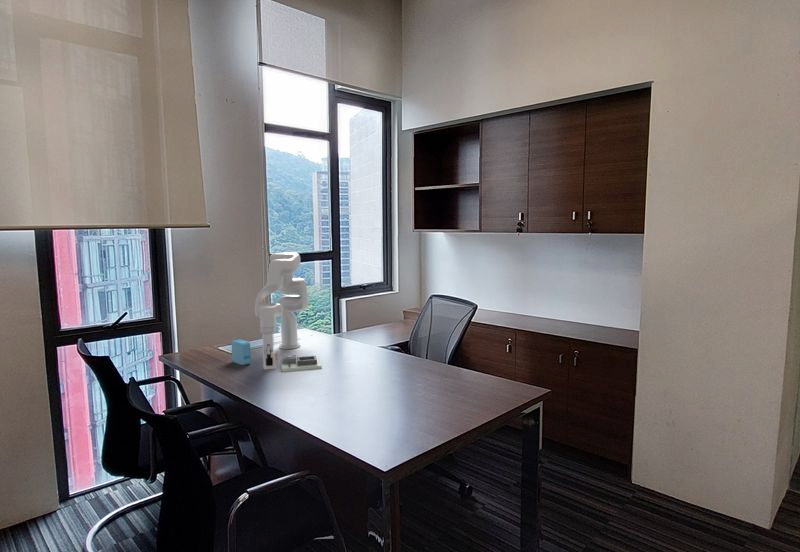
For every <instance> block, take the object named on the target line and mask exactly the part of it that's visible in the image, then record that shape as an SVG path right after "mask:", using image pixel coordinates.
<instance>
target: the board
mask: <svg viewBox="0 0 800 552" xmlns="http://www.w3.org/2000/svg"><path fill="white" fill-rule="evenodd" d="M281 357H282V358H281V359H282V360H281V372H282V373H283V372H294V371H295V370H297V371H307V370H308V369H309V370H319V369H322V367H323V366H322V363H321V359H320V357H317V356H316V355H308V356H307V355H306V356H298V357H297V355H296V354H293V355H283V356H281Z"/></svg>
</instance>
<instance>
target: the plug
mask: <svg viewBox="0 0 800 552" xmlns="http://www.w3.org/2000/svg"><path fill="white" fill-rule="evenodd" d="M270 354H271V353H270ZM272 359H273V365H272V366H266V352H265V353H263V352H262V361H263V362H262V363H263V365H262V366H263V370H274V369H275V368H277V365H276V363H277V362H276V361H278V351H273V352H272Z"/></svg>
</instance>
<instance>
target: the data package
mask: <svg viewBox="0 0 800 552" xmlns="http://www.w3.org/2000/svg"><path fill="white" fill-rule="evenodd" d="M230 345H231V359H232V362H233V363H235V364H237V365H241V366H245V365H249V364H251V362H252V358H251V357H252V356H251V353H252V352H251V343H250V342H249V341H248V340H244V339H239V338H238V339H235V340H232V341H231V344H230Z"/></svg>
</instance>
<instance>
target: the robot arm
mask: <svg viewBox="0 0 800 552" xmlns="http://www.w3.org/2000/svg"><path fill="white" fill-rule="evenodd" d="M301 260H302V259H301V255H300V254H299V253H298V252H275V253H271V254H270V255H269V264H268V269H267V279H266V284H265V285H264V286H263V288H262V289H261V290H260V291H259V292H258V293H257V296H256V298H255V303H254V304H255V305H254V314H255V316H256V317H257V318H259V322H260V323H259V324H260V325H259V326H260V334H262V354H263V353H265V352H266V366H272V365H273V359H272V352H274V345H275V343H274V342H275V341H274V339H275V338H274V334H275V333H276V332H277V331H276V318H279V317H280V332H281V333H280V334H281V335H280V336H281V337H280V339H281V344H279V345H278V348H279V349H282V350H292V349H293V350H294V349H298V348H300V347H301V343H299V342H298V340H299V338H298V319H297V316H296V314H295V313H294V312H302V311H303V312H304V311H306V310H308V307H309V298H308V286H307V282H306V280H305V279H304V278H301V277H294V274H295V273H296V272H297V270H298V268H299V267H300V265H301ZM277 291H279V292H280V293H281V294H283V295H281V296H280V297H279V298H278V301H277V303H276V302H263V301H264V300H265V298H267V296H269V295H271V294H273V293H276V292H277ZM270 353H271V354H270Z"/></svg>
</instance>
